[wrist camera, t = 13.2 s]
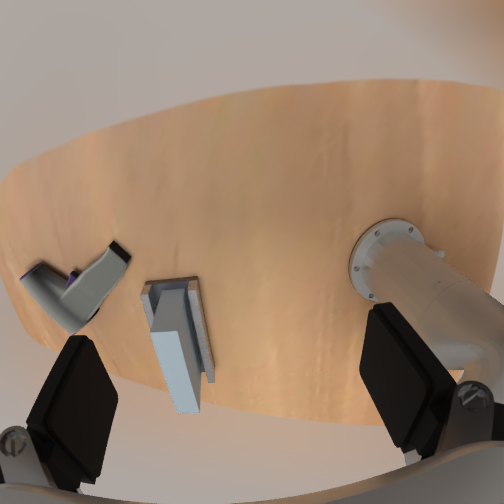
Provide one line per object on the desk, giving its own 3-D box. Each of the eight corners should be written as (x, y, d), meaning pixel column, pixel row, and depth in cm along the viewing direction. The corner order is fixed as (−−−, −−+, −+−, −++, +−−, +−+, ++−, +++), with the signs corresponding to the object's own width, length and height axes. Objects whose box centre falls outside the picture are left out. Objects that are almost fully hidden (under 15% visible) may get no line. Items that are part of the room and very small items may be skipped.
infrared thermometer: (140, 258, 39) (84, 325, 41) (74, 198, 35) (26, 274, 37) (133, 272, 35) (75, 342, 37) (60, 205, 31) (12, 287, 33)
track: (145, 281, 39) (140, 295, 36) (197, 276, 40) (195, 289, 36) (171, 369, 46) (169, 385, 42) (214, 366, 46) (215, 382, 43)
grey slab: (162, 290, 39) (149, 332, 31) (184, 288, 39) (177, 330, 31) (182, 368, 44) (177, 413, 36) (201, 367, 45) (199, 412, 36)
